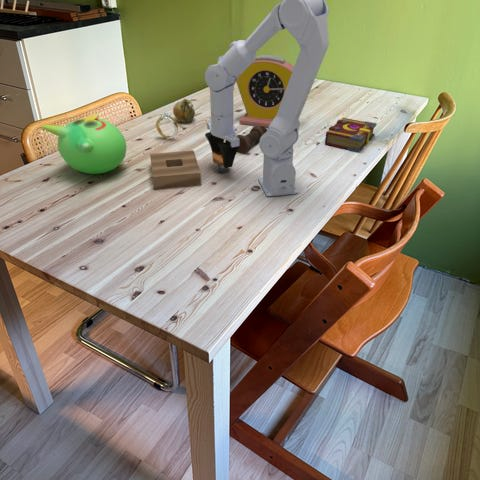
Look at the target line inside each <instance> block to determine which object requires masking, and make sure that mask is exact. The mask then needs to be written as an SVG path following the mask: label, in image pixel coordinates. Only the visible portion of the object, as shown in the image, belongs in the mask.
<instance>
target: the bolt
mask: <svg viewBox="0 0 480 480" xmlns="http://www.w3.org/2000/svg"><path fill="white" fill-rule="evenodd" d="M267 130H268V128H267V127H264V126H253V127H252V128H251V130H250V131H249V133H247V134H246V135H242V134H236V135H237V137H238V138H239V142H240V143H241V146H240V147H239V149H238V151H237V153H238V154H241V155H245V154H247V153H248V152H249V150H250V149H251V147H252V145H253V144H255V143H259V141H260V138H261V136H262V135H263V134H265V133H266V132H267ZM237 153H236V154H237Z"/></svg>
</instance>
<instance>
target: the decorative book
mask: <svg viewBox="0 0 480 480" xmlns="http://www.w3.org/2000/svg"><path fill="white" fill-rule="evenodd" d="M375 127H377V123H376V122H371V121H362V120H358V119H357V120H356V119H351V118H346V117H342V118H341V119H337V121H336V123H335V124H334V125H331V126H329V128H328V130H327V131H326V132H325V139H324V145H326V146H331V147H336V148H339V149H344V150H347V151H350V152H355V153H358V154H360V152H361V151H362V150H363V149H364V147H365V146H368V144H369V141H370V140H372V139H373V138H374V137H375V136H376V135H375V133H374V129H375Z"/></svg>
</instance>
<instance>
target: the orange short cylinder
mask: <svg viewBox="0 0 480 480" xmlns="http://www.w3.org/2000/svg"><path fill="white" fill-rule="evenodd" d="M211 154H212V155H211V156H212V162H213V164H215V165H217V172H218V173H220V174H226V173H229V172H230V171H229V169H230V167H229V168H225V167H224V164H223V156H222V152H221V150H216V151H214V152H213V153H212V152H211Z"/></svg>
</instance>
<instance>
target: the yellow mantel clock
mask: <svg viewBox="0 0 480 480" xmlns="http://www.w3.org/2000/svg"><path fill="white" fill-rule="evenodd" d="M294 66H295V65H293V64H291V62H289V61H286V59H285V58H283V57H281V56H279V55H275V54H261V55H256V59H255V61H254V62H253V63H252V64H251V65H250V66H249V67H248V68H247V69H246V70H245V71H244V72H243V73H242V74H241V75H240V76H239V77H238V80H237V82H236V83H235V84H236V85H237V88H238V91H239V94H240V97H241V99H242V104H243V105H244V106H243V107H244V109H245V110H244V111H245V112H246V113H245V114H244V115H242V117H241V118H240V119H239V124H240V125H246V126H253V127H260V126H264V127H265V128H268V127H269V125H270V124H271V122H272V121H273V119H274V118H275V117H276V115H277V112H278V110H279V107H280V104H281V101H282V99H283V96H284V93H285V91H286V88H287V85H288V82H289V80H290V77H291V74H292V71H293V69H294Z"/></svg>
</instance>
